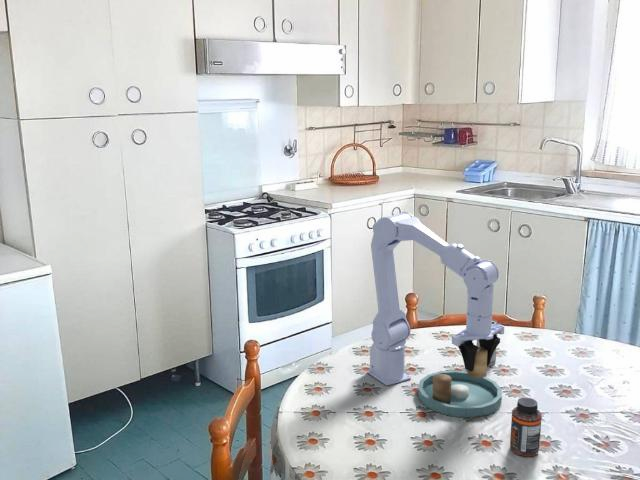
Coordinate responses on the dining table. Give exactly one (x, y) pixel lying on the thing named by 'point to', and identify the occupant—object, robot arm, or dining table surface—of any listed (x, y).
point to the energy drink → (495, 349)
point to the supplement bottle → (525, 427)
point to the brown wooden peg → (442, 388)
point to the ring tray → (463, 395)
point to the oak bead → (479, 364)
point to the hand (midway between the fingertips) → (476, 367)
